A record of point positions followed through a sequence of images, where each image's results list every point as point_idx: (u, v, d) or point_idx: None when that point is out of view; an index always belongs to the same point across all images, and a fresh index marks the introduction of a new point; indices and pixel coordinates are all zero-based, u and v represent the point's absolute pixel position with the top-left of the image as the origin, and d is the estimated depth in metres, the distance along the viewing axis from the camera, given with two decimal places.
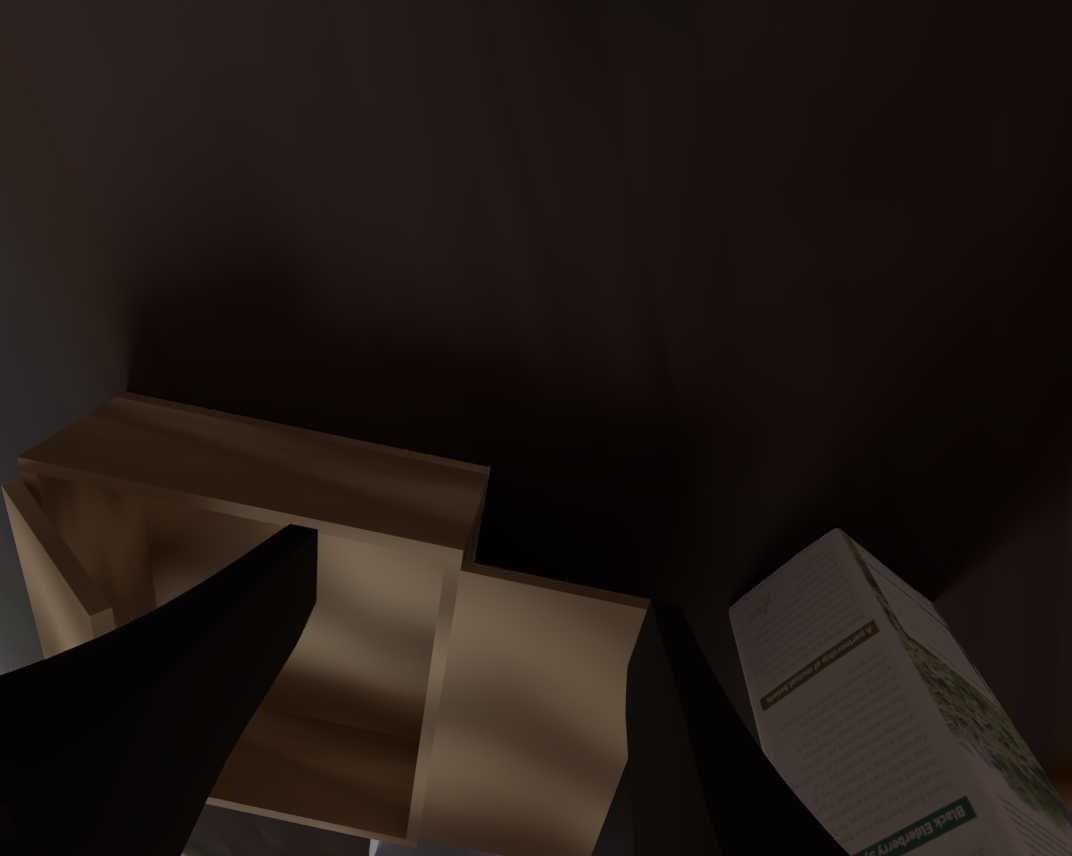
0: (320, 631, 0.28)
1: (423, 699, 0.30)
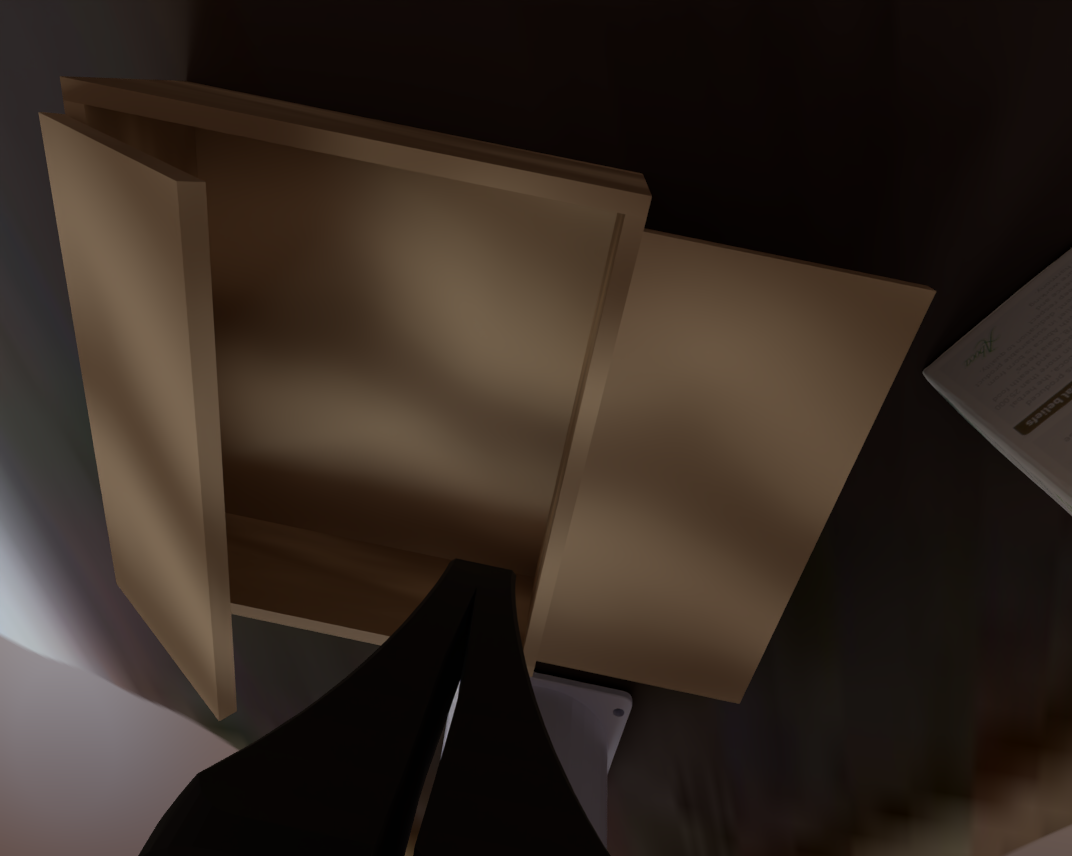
0: (410, 423, 0.23)
1: (528, 516, 0.25)
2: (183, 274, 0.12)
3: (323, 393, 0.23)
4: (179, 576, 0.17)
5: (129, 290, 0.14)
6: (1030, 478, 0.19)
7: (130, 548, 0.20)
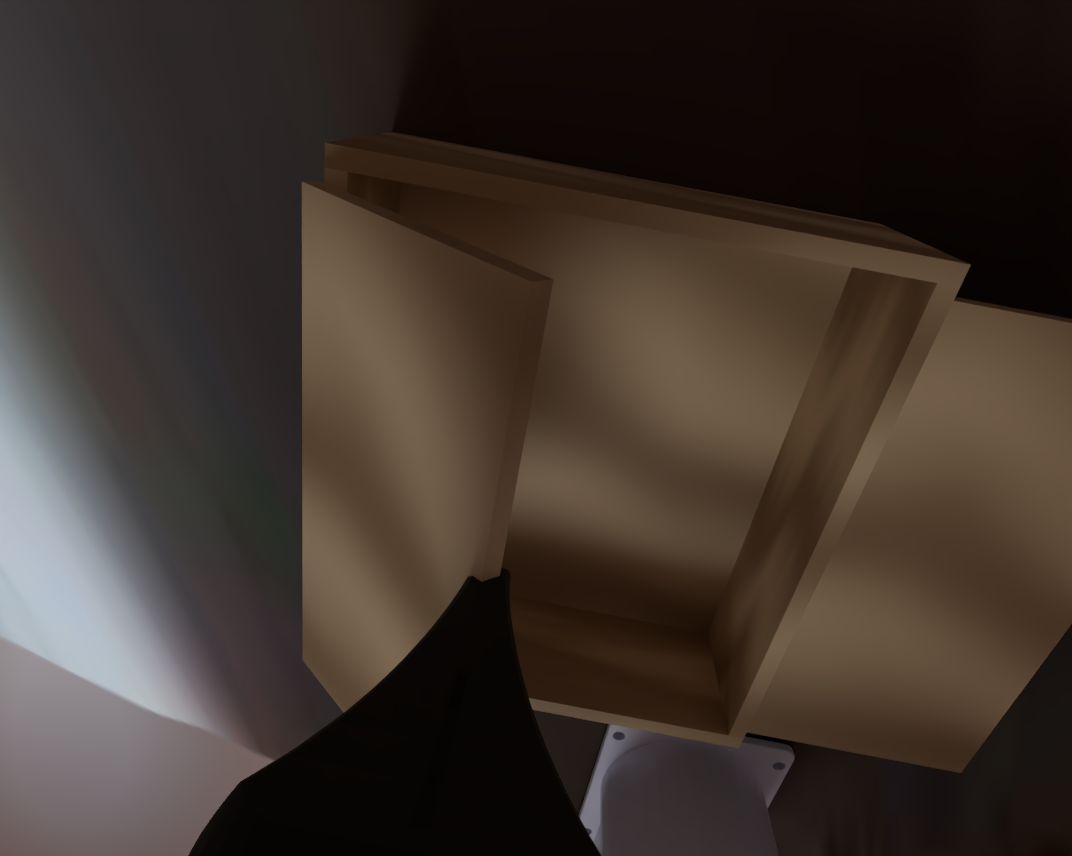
0: (596, 480, 0.22)
1: (711, 572, 0.24)
2: (513, 381, 0.11)
3: None
4: None
5: (408, 382, 0.13)
6: None
7: (335, 633, 0.18)
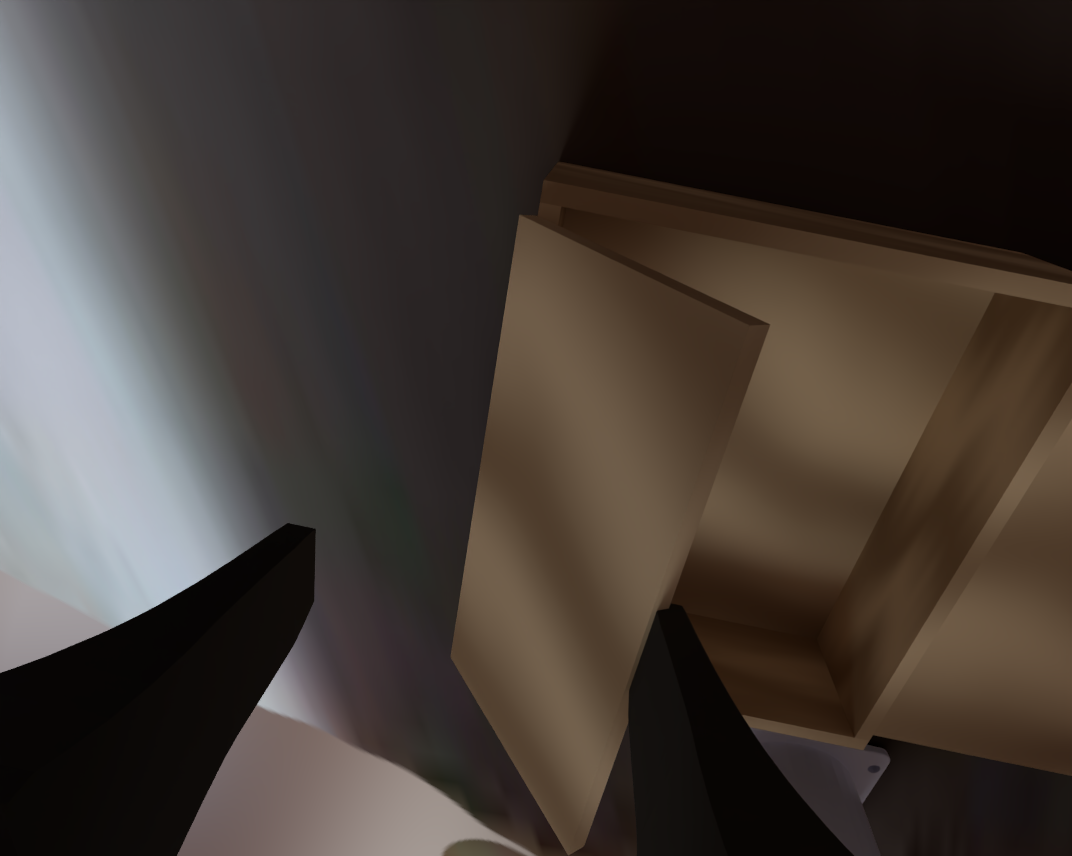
0: (723, 491, 0.23)
1: (826, 581, 0.25)
2: (716, 420, 0.11)
3: None
4: (561, 696, 0.16)
5: (601, 409, 0.13)
6: None
7: (487, 637, 0.19)
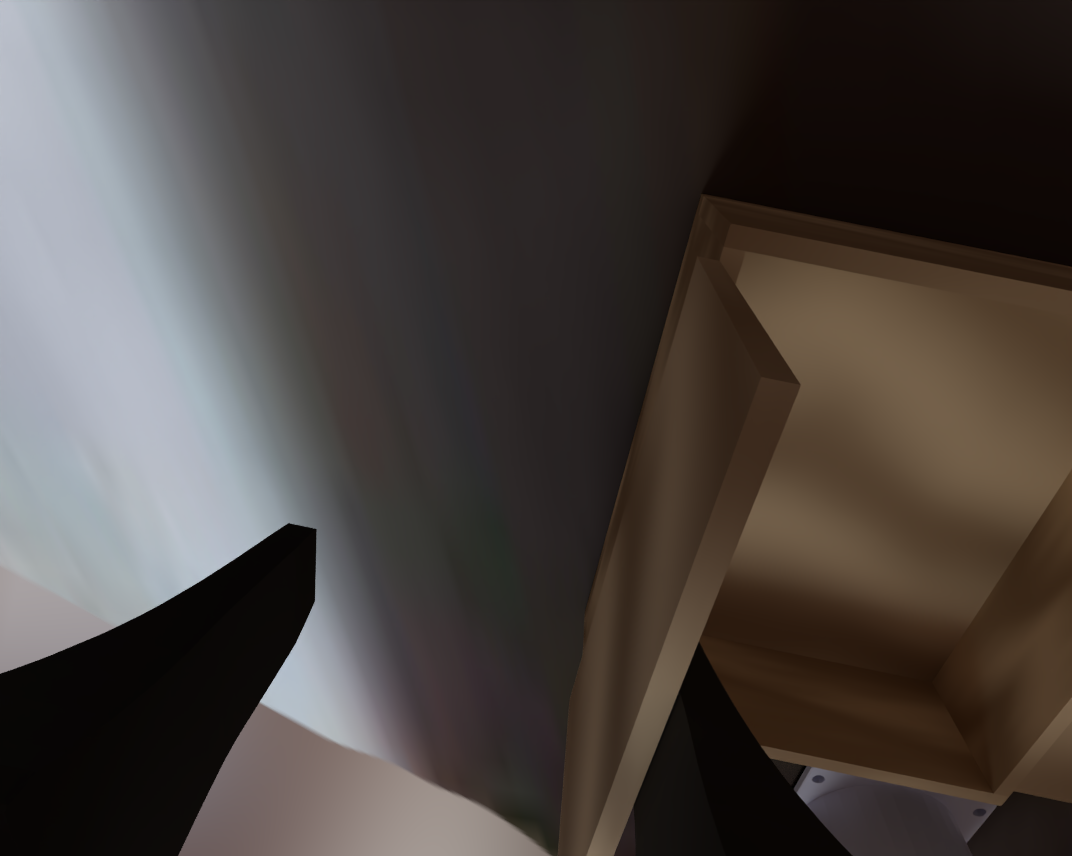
0: (847, 532, 0.22)
1: (948, 623, 0.24)
2: (720, 489, 0.09)
3: (760, 502, 0.22)
4: (590, 772, 0.14)
5: (678, 463, 0.12)
6: None
7: (584, 688, 0.18)
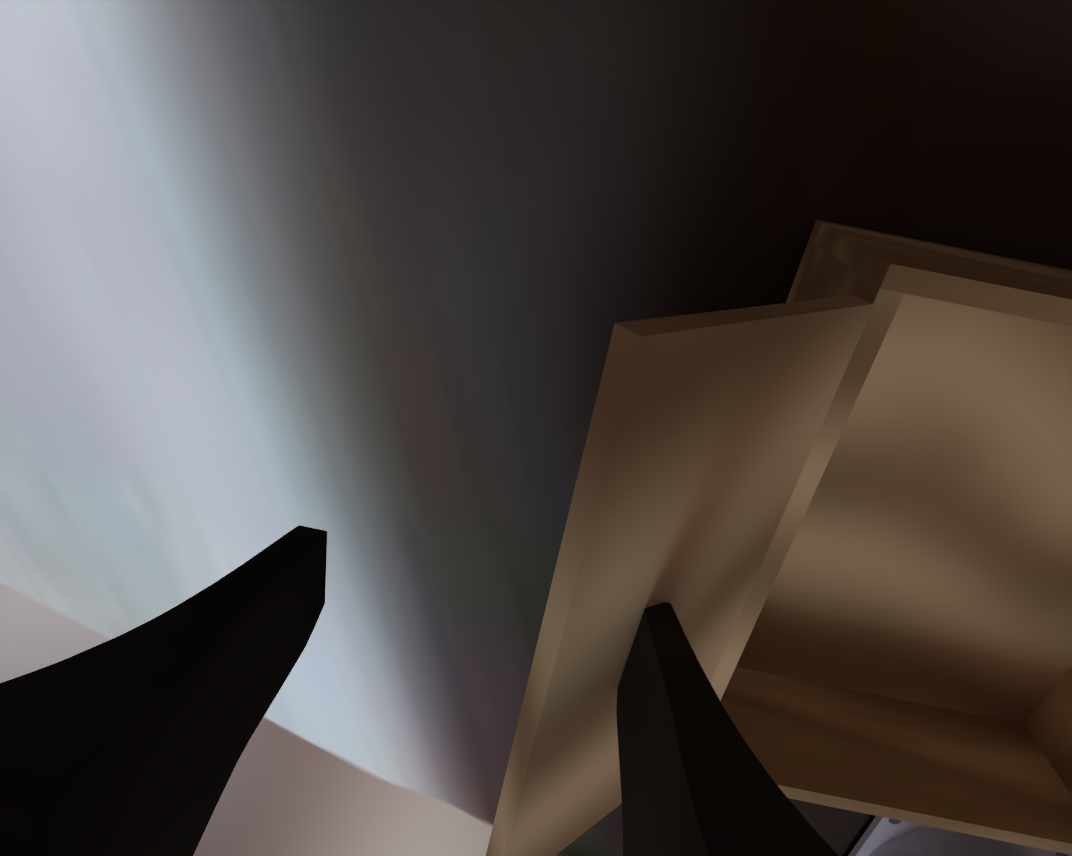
0: (948, 573, 0.21)
1: (1047, 665, 0.22)
2: (590, 429, 0.10)
3: (857, 542, 0.21)
4: None
5: None
6: None
7: None
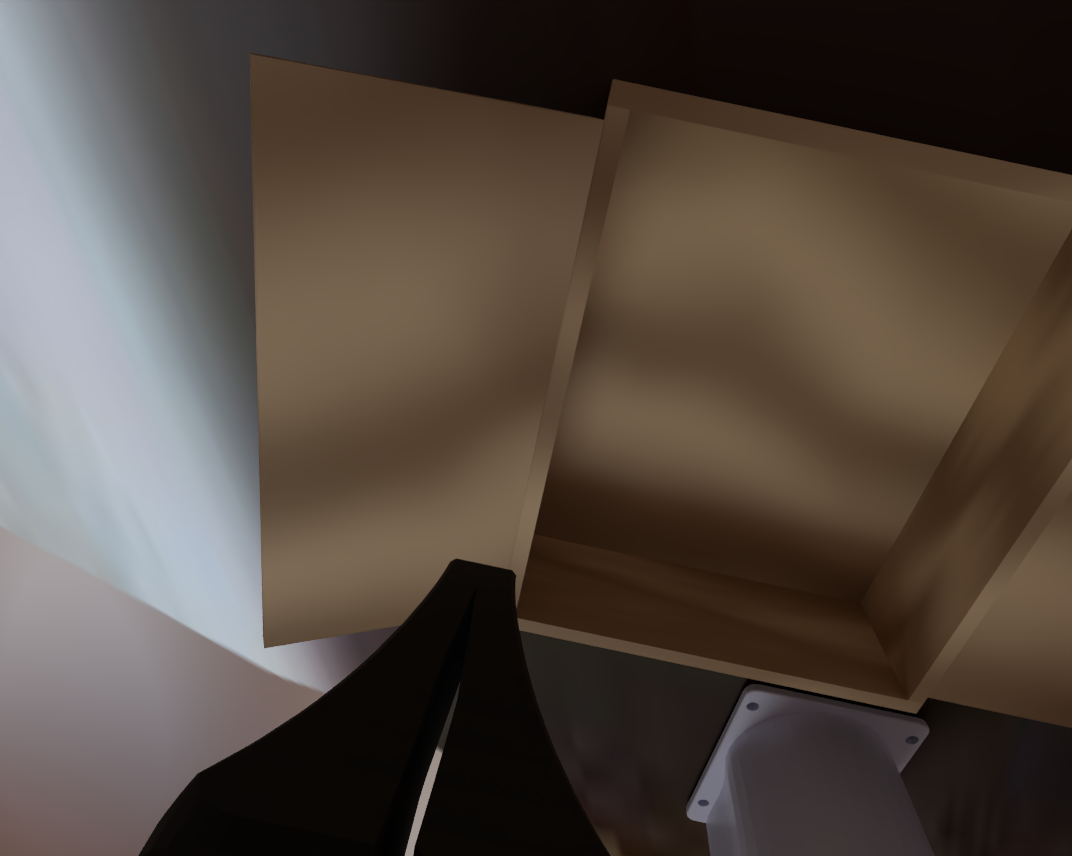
0: (770, 444, 0.22)
1: (874, 541, 0.24)
2: (253, 153, 0.12)
3: (682, 412, 0.22)
4: None
5: None
6: None
7: None
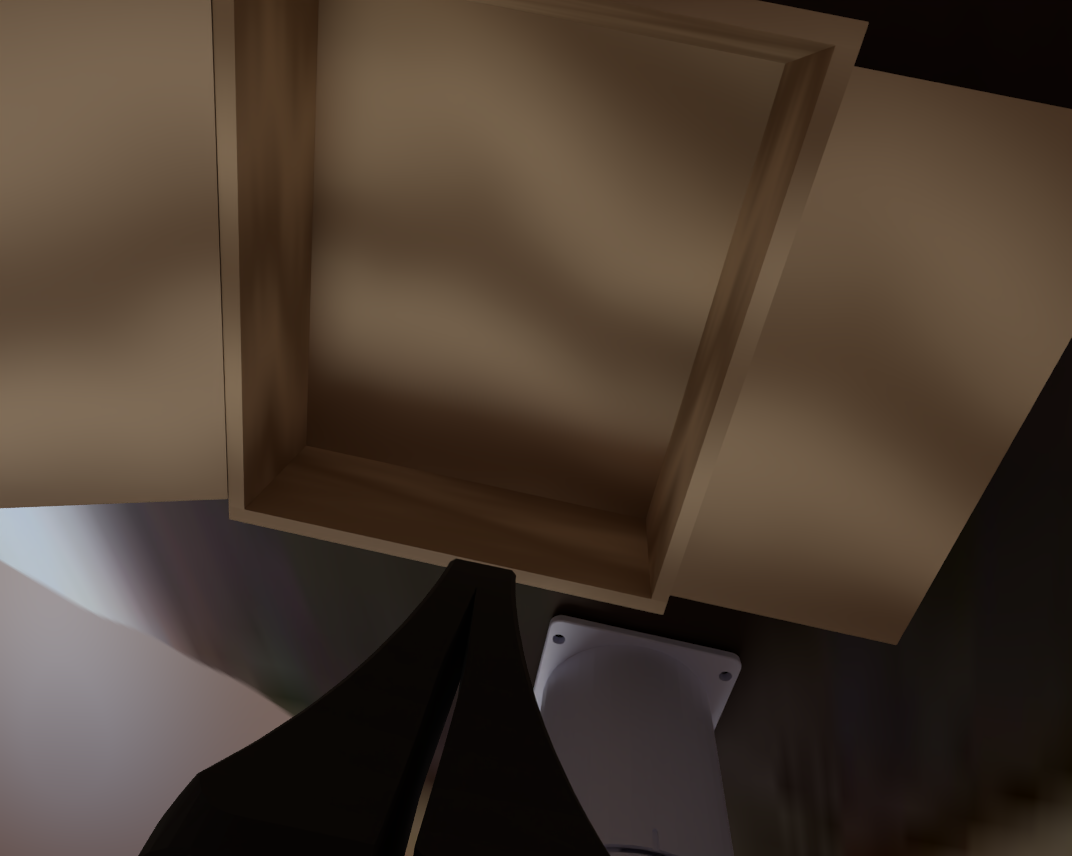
0: (525, 340, 0.22)
1: (646, 447, 0.23)
2: None
3: (432, 307, 0.22)
4: None
5: None
6: None
7: None
